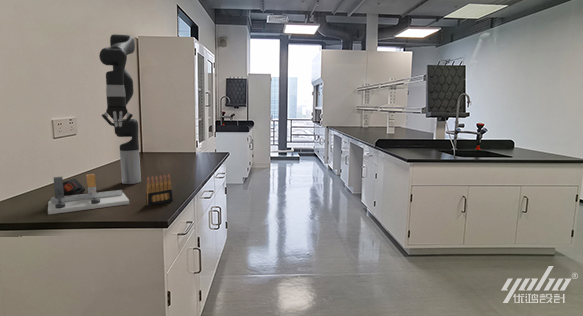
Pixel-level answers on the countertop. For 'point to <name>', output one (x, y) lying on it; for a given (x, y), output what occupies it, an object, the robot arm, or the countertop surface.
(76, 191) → the battery
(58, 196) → the rail and fixed leg
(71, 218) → the countertop surface
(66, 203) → the hole plate
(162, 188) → the ammunition clip
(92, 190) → the block
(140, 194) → the countertop surface
